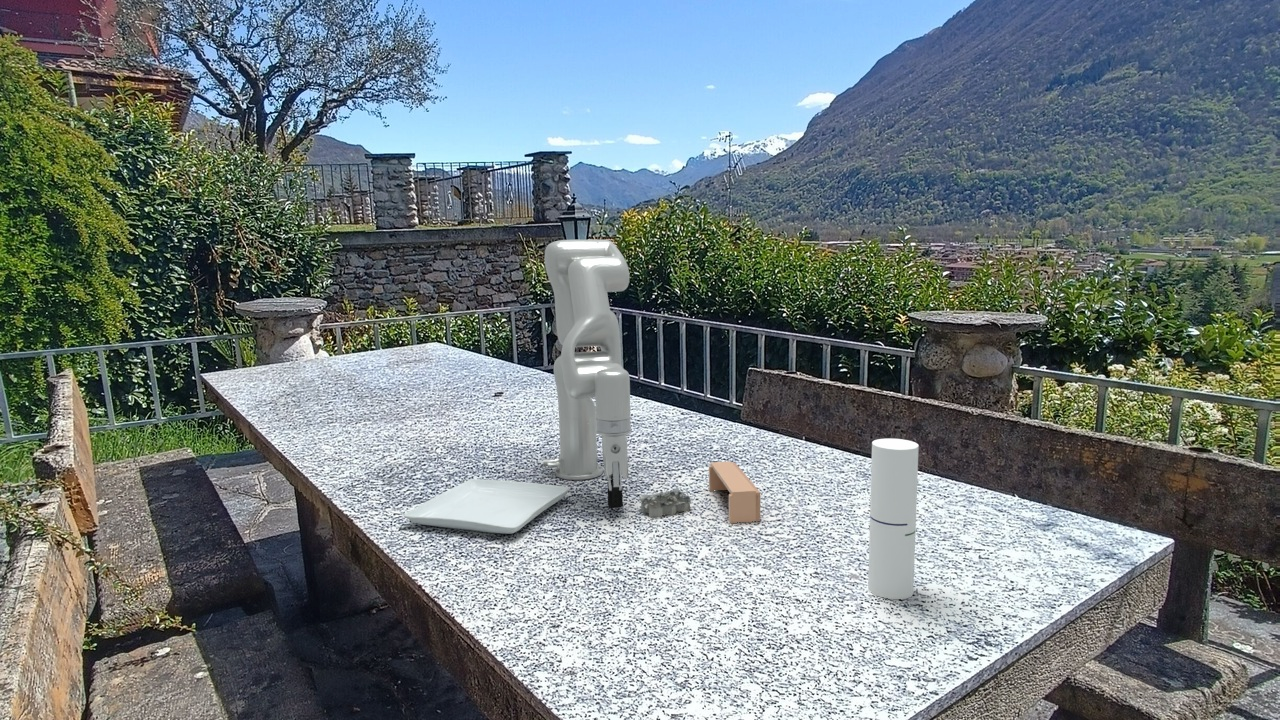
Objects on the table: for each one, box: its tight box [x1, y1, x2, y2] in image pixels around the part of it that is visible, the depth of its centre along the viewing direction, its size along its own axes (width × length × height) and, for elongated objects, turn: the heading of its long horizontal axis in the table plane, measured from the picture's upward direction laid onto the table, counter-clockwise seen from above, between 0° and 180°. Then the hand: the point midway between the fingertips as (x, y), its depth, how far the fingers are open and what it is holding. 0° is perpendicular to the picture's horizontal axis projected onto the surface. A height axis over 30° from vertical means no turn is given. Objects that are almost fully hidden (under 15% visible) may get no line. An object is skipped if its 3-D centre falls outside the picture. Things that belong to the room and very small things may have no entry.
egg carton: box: [638, 487, 694, 518], centre depth 163 cm, size 11×8×4 cm
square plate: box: [402, 478, 571, 535], centre depth 163 cm, size 27×27×4 cm
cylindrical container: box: [867, 438, 920, 600], centre depth 121 cm, size 7×7×25 cm
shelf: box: [708, 461, 761, 524], centre depth 165 cm, size 6×22×7 cm, turn 6°
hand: (615, 506), depth 162 cm, fingers closed
